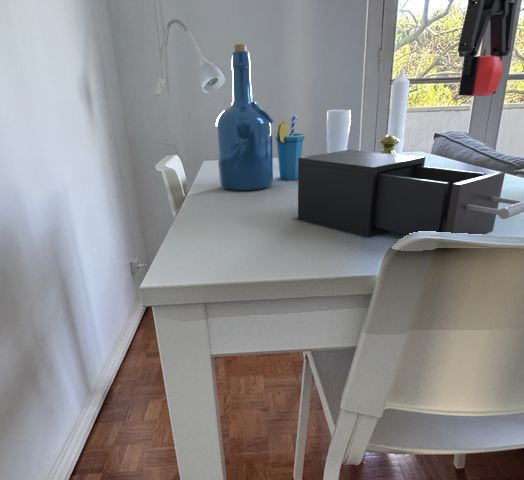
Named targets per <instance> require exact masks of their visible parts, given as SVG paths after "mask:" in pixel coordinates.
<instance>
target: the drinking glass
mask: <svg viewBox="0 0 524 480" xmlns="http://www.w3.org/2000/svg"><path fill="white" fill-rule="evenodd" d="M325 124H326V125H325V126H326V149H327V150H326V151H327V152H326V153H332V152H339V151H345V150H348V143H349V134H350V127H351V109H328V110H327V111H326V123H325Z"/></svg>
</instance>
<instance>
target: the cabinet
mask: <svg viewBox="0 0 524 480" xmlns="http://www.w3.org/2000/svg"><path fill="white" fill-rule="evenodd" d="M425 162H426V156H417V155H408V154H407V155H406V154H402V155H398V154H388V153H381V152H376V151H366V150H356V149H347V150H345V151H339V152H332V153H327V152H326V153H321V154H314V155H308V156H301V158H298V179H297V219H298V220H301V221H305V222H308V223H313V224H317V225H321V226H325V227H328V228H334V229H337V230H341V231H345V232H349V233H352V234H356V235H360V236H366V237H371V236H374V235H377V234H381V233H384V232H387V231H388V230H385V229H381V228H376V227H372V226H373V214H374V202H375V191H376V179H377V173H378V172H383V171H388V170H392V169H397V168H402V167H407V166H411V165H418V166H425Z"/></svg>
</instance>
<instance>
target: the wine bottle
mask: <svg viewBox="0 0 524 480" xmlns="http://www.w3.org/2000/svg"><path fill="white" fill-rule="evenodd" d="M233 48H234V51H232V53H231V68H230V69H231V70H232V102H231V105H230V106H229V107H227V108H226V109H224V110H223V111H222V112H221V113H220V114H219V115H218V117H217V118H216V122H215V132H216V147H217V163H218V172H219V173H218V175H219V184H220V185H221V187H222V188H223V189H224V190H230V191H235V192H248V191H249V192H250V191H259V190H262V189H266V188H269V187H270V186H271V185H272V184H273V182H274V167H273V165H274V161H273V159H274V158H273V123H274V122H275V121H274V119H273V118H272V117H271V115H270V114H268V113H267V112H266V111H265V109H263V108H261V106H260V105H258V103H257V102H256V101H255V100H253V90H252V87H253V86H252V75H251V69H252V66H251V65H252V63H251V57H250V51H247V48H248V47H247V44H246V43H236V44H235V45H234V47H233Z"/></svg>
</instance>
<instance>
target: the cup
mask: <svg viewBox="0 0 524 480" xmlns="http://www.w3.org/2000/svg"><path fill="white" fill-rule="evenodd" d="M297 120H299V117H298V116H297V115H295V114H292V117H291V123H290V124H289V123H288V122H287V121H286V120H282V121H281V122H280V123H279V124H278V127H277V132H276V134H275V135H274V139H275V141H276V149H277V158H278V159H277V161H278V171H279V179H280V180H281V181H298V158H301V157H303V156H302V155H303V144H304V140H305V135H304V134H303V133H295V124H296V123H295V122H296V121H297Z"/></svg>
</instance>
